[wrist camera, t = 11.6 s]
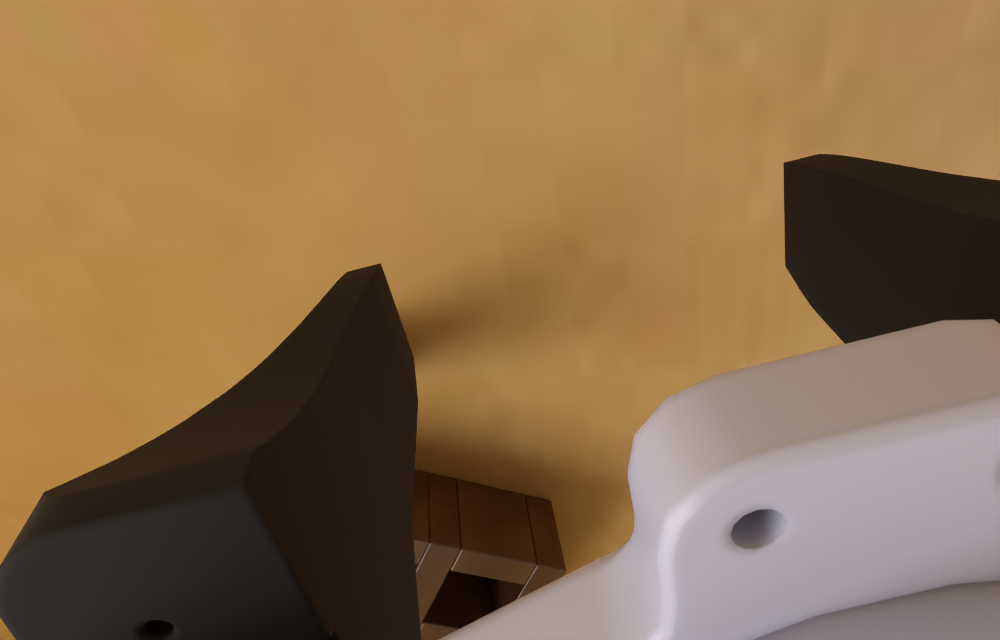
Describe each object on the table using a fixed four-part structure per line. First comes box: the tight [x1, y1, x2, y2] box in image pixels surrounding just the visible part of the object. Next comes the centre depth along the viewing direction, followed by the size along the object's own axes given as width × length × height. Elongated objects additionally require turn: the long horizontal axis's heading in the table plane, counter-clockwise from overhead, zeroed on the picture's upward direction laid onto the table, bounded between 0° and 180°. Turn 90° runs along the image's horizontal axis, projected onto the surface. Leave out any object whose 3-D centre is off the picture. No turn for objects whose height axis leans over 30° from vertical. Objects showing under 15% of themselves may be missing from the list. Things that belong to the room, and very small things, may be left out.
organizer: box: [413, 470, 566, 640], centre depth 30 cm, size 10×14×4 cm
